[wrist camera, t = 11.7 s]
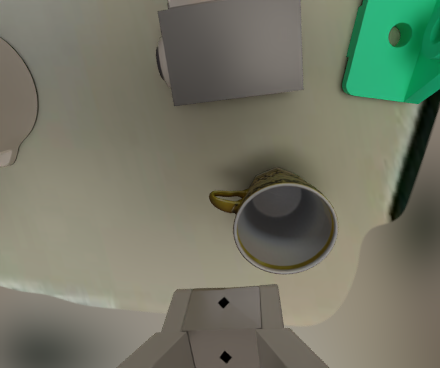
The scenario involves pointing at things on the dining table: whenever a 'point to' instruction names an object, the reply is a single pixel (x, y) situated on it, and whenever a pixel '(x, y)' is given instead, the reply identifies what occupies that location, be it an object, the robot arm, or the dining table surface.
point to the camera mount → (394, 51)
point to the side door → (187, 3)
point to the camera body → (231, 49)
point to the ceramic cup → (281, 222)
